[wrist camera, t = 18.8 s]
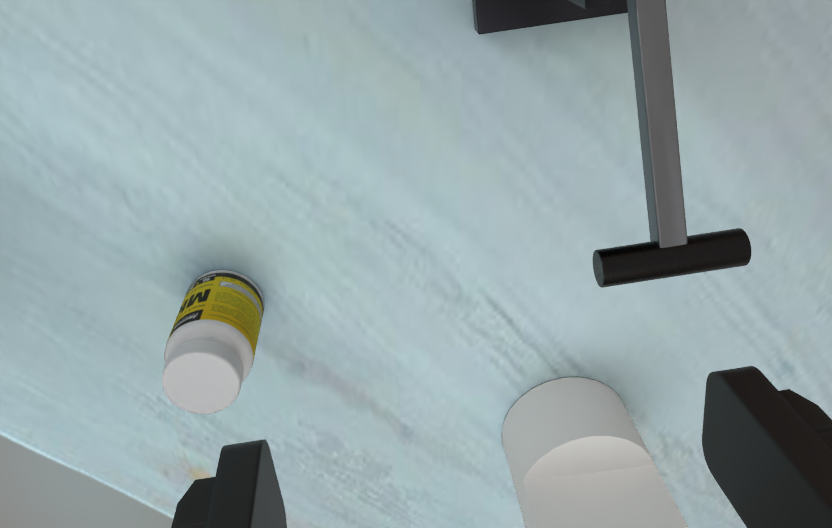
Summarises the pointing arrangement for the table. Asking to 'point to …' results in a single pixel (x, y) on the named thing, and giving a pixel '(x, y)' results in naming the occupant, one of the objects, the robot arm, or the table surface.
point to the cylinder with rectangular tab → (583, 461)
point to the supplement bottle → (213, 342)
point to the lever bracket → (538, 12)
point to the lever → (662, 173)
